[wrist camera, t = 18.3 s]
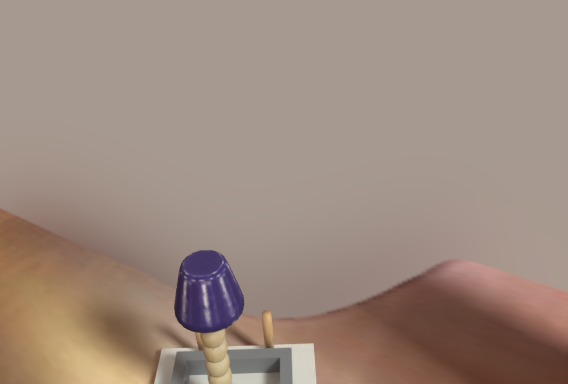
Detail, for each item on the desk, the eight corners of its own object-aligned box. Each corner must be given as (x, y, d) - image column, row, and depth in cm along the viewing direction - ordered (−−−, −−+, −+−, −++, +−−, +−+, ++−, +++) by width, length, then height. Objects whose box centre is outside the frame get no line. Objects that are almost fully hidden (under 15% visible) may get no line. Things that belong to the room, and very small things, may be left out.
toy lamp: (196, 400, 44) (162, 248, 35) (251, 386, 45) (231, 234, 35) (204, 454, 40) (168, 299, 31) (263, 438, 41) (246, 282, 32)
